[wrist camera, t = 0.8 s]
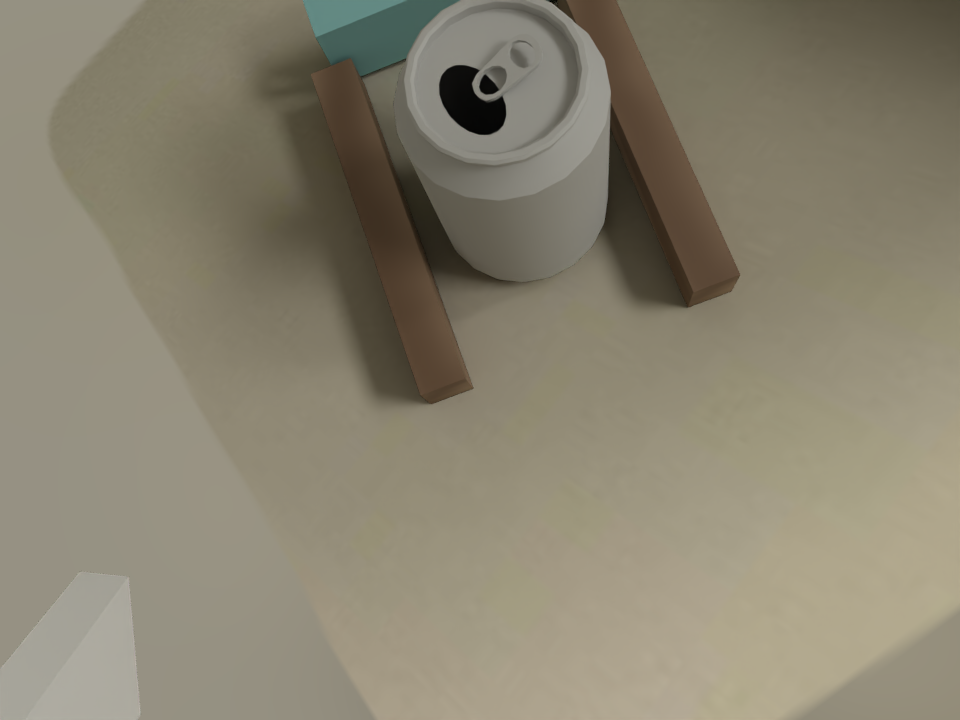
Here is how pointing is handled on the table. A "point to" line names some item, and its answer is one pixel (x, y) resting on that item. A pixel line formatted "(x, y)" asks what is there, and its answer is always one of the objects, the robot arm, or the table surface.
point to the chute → (642, 145)
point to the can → (509, 133)
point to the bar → (370, 29)
